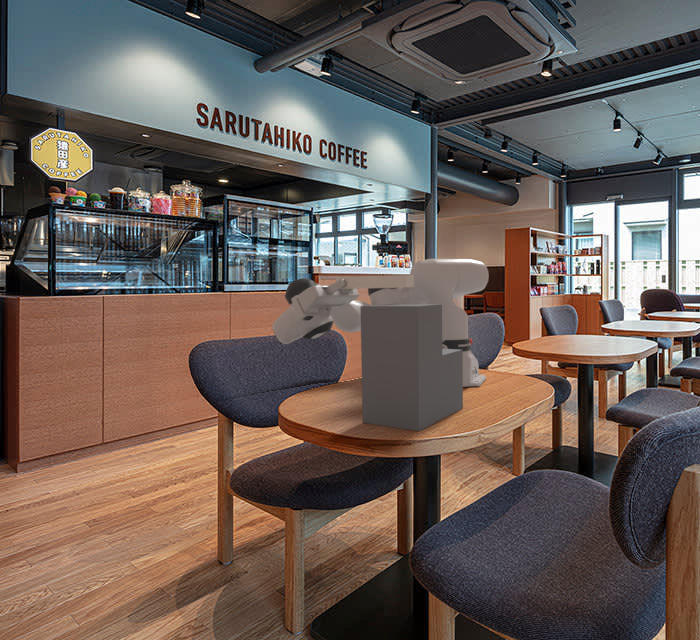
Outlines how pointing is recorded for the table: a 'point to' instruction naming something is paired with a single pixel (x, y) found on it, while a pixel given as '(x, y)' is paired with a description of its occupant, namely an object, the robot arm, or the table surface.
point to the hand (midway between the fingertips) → (350, 281)
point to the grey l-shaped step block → (408, 367)
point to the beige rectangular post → (379, 282)
